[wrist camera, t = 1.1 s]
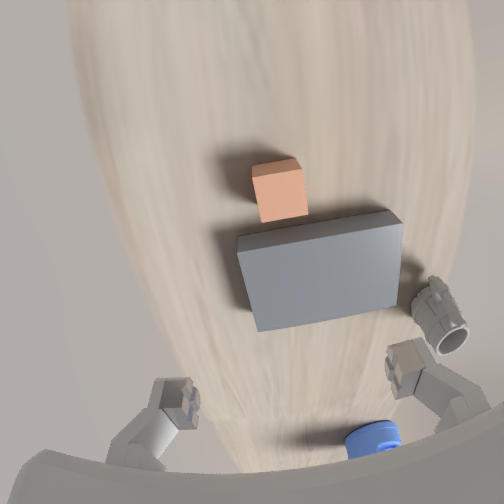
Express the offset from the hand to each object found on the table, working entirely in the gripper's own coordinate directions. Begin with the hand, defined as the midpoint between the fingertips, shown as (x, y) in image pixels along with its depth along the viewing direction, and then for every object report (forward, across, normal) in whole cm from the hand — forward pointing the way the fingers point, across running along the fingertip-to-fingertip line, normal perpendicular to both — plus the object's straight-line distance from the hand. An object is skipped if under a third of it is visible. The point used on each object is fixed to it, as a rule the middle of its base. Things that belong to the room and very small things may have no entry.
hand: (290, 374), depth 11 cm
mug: (+27, -24, +22) cm, 42 cm away
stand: (+27, -6, +13) cm, 30 cm away
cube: (+27, -1, 0) cm, 27 cm away
